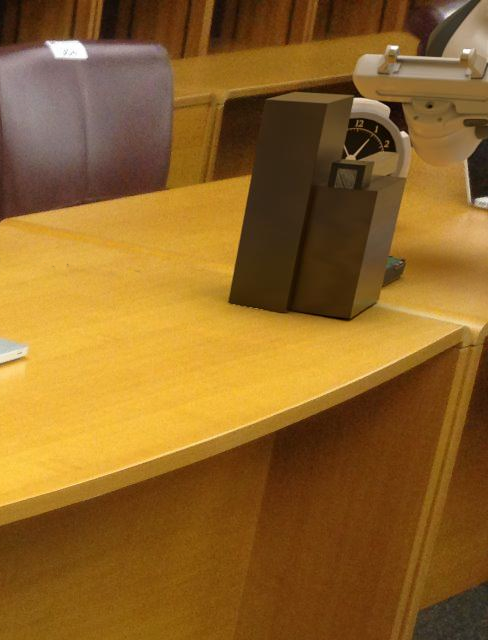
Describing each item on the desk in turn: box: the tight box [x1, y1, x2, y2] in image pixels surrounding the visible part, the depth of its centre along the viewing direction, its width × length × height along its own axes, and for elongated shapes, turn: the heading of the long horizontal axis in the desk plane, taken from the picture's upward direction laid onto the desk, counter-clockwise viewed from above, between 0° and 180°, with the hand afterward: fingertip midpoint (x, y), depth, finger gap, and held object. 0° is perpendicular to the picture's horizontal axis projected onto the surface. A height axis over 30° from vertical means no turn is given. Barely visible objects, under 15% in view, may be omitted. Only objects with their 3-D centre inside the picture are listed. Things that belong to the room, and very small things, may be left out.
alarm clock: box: [341, 97, 413, 178], centre depth 251 cm, size 18×8×20 cm, turn 73°
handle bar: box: [327, 151, 400, 190], centre depth 198 cm, size 4×20×3 cm, turn 141°
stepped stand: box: [227, 91, 407, 320], centre depth 200 cm, size 15×16×26 cm
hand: (429, 51), depth 206 cm, fingers open, 8 cm apart
